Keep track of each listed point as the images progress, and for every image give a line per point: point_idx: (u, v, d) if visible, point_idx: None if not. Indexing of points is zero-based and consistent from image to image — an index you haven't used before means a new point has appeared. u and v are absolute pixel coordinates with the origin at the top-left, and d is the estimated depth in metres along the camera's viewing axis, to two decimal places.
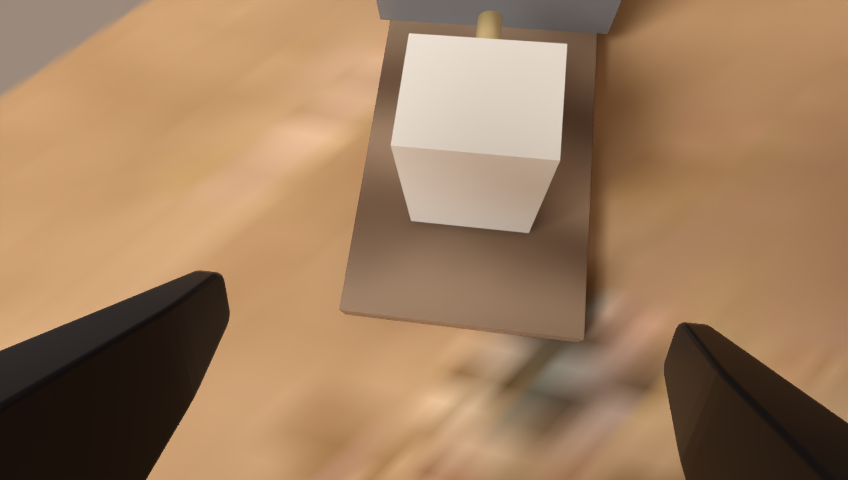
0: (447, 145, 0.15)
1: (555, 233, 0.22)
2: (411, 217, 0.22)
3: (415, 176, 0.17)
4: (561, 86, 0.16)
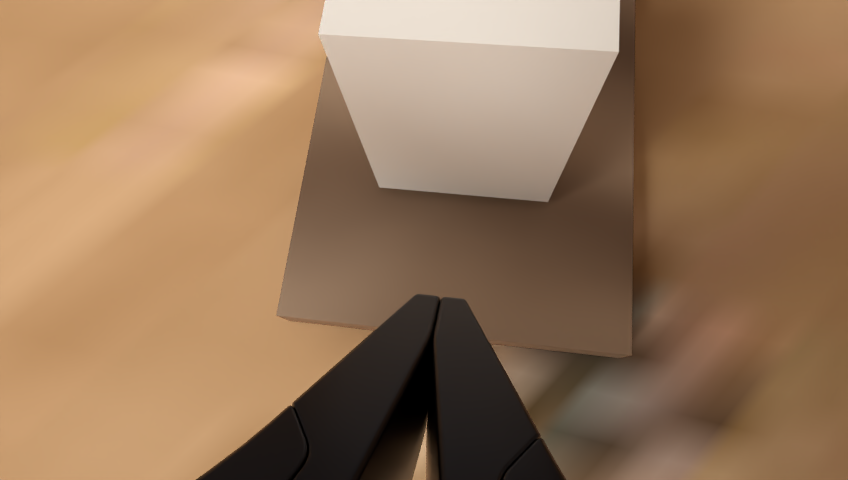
0: (416, 31, 0.09)
1: (586, 202, 0.15)
2: (378, 181, 0.15)
3: (372, 102, 0.11)
4: None
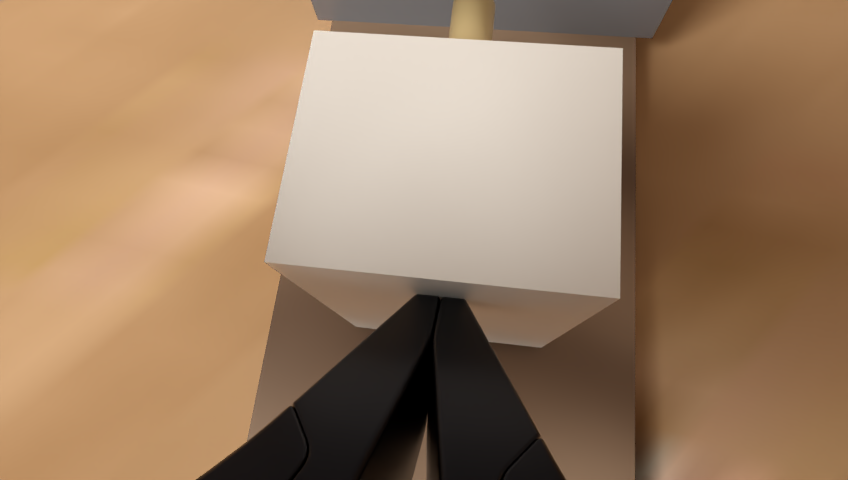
0: (380, 262, 0.07)
1: (583, 354, 0.14)
2: (354, 324, 0.14)
3: (337, 294, 0.09)
4: (615, 135, 0.08)
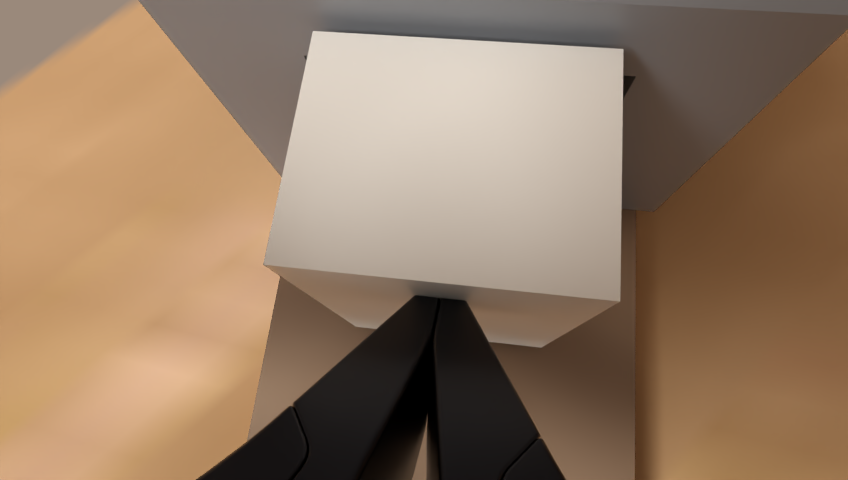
0: (380, 264, 0.07)
1: None
2: (354, 324, 0.14)
3: (337, 296, 0.09)
4: (615, 136, 0.08)
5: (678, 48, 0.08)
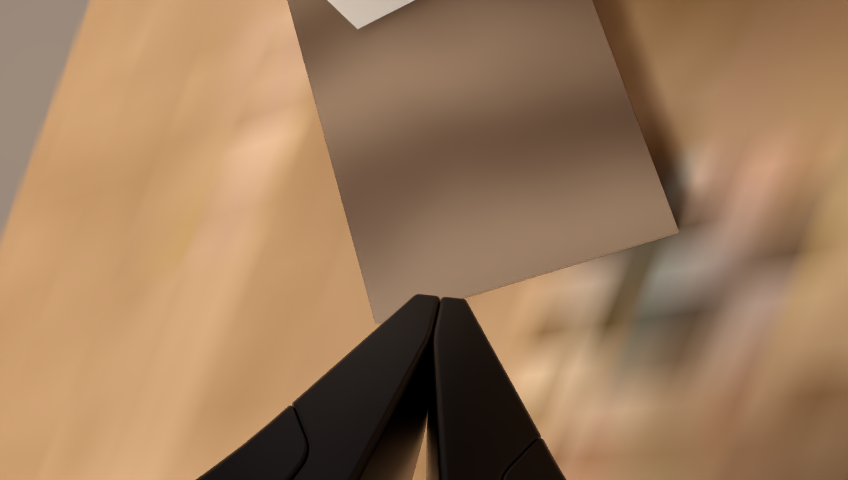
0: None
1: (583, 113, 0.16)
2: (352, 22, 0.18)
3: None
4: None
5: None
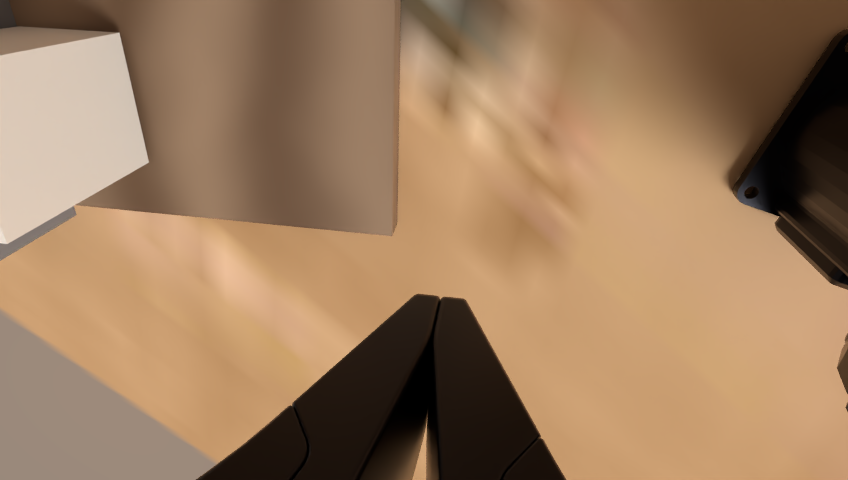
0: None
1: (273, 5, 0.18)
2: (141, 165, 0.21)
3: (55, 196, 0.17)
4: None
5: None
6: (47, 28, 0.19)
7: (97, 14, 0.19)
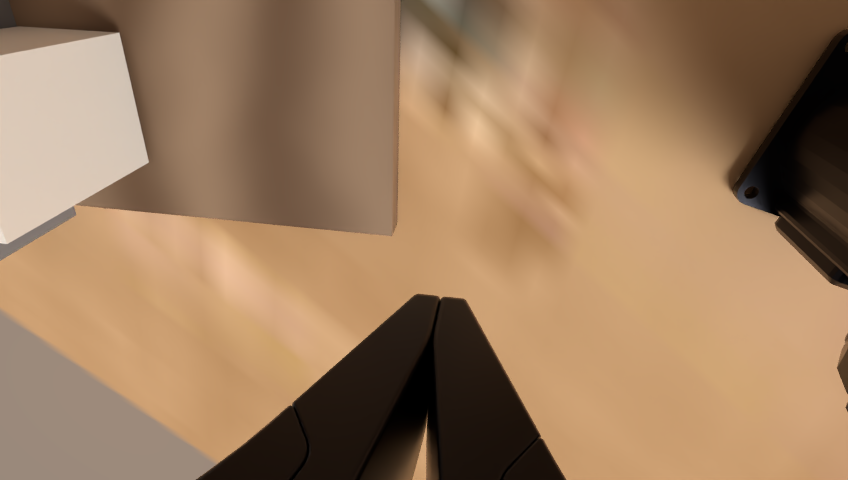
0: None
1: (273, 5, 0.18)
2: (141, 165, 0.21)
3: (55, 196, 0.17)
4: None
5: None
6: (47, 28, 0.19)
7: (97, 14, 0.19)
